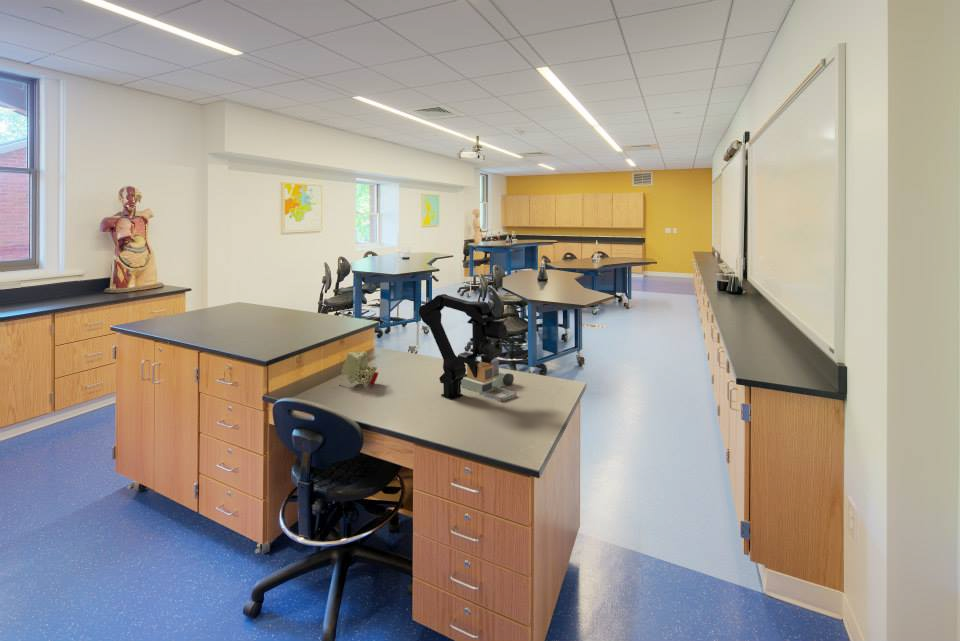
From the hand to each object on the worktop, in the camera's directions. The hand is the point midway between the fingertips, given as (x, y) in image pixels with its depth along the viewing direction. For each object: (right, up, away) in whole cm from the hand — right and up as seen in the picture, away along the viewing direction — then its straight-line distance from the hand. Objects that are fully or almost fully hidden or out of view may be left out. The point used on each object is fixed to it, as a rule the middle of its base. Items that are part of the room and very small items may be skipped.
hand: (480, 375), depth 186 cm
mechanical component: (-49, -7, +24) cm, 55 cm away
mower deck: (+3, -7, +23) cm, 24 cm away
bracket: (+7, -9, +11) cm, 16 cm away
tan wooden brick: (0, -1, 0) cm, 1 cm away
